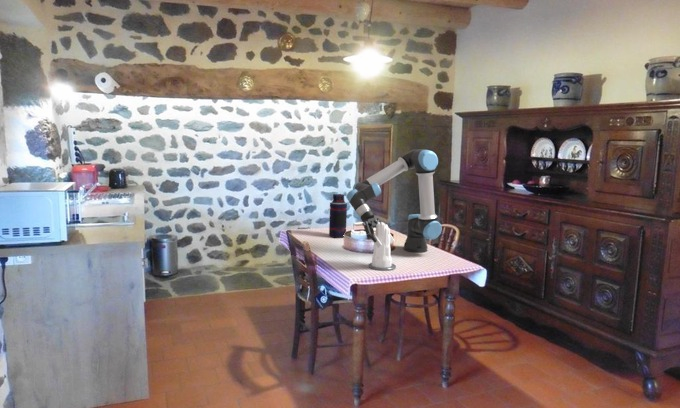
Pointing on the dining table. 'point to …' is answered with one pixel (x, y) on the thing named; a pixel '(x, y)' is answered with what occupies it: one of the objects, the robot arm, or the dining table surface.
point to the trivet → (383, 268)
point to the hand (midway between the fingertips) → (386, 244)
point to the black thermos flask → (337, 216)
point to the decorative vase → (382, 247)
